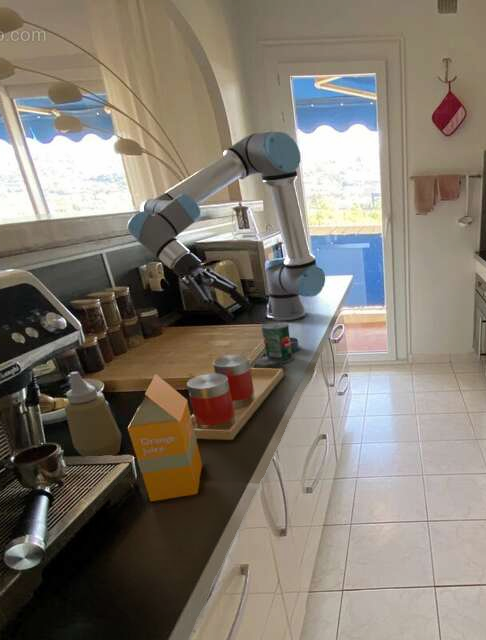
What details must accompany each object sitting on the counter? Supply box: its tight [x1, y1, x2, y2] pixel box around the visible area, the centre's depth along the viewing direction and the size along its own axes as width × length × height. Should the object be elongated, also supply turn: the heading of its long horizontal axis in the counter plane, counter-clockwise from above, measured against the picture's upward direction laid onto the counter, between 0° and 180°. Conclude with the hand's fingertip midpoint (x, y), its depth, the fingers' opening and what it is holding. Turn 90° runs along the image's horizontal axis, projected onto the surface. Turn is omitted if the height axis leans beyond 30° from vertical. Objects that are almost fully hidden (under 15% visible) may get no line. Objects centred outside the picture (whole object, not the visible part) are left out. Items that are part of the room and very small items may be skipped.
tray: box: [190, 367, 285, 441], centre depth 110 cm, size 35×12×2 cm, turn 176°
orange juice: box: [127, 373, 203, 502], centre depth 77 cm, size 8×9×20 cm
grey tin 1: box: [255, 356, 283, 369], centre depth 130 cm, size 7×7×3 cm
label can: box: [186, 373, 236, 430], centre depth 97 cm, size 8×8×11 cm
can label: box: [212, 354, 255, 409], centre depth 108 cm, size 8×8×11 cm
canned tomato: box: [261, 320, 293, 364], centre depth 137 cm, size 8×8×11 cm
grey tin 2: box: [290, 336, 300, 353], centre depth 146 cm, size 7×7×3 cm
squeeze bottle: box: [64, 371, 122, 457], centre depth 86 cm, size 8×8×18 cm
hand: (240, 313), depth 133 cm, fingers open, 13 cm apart
